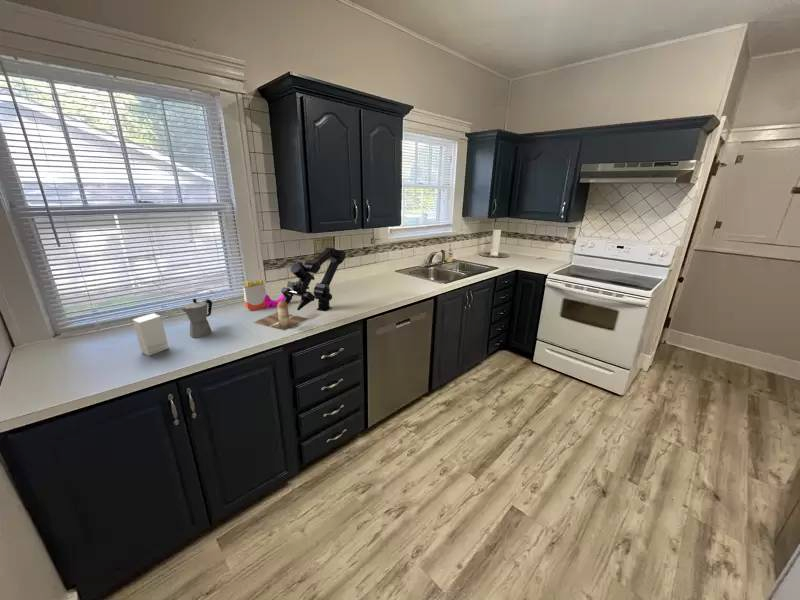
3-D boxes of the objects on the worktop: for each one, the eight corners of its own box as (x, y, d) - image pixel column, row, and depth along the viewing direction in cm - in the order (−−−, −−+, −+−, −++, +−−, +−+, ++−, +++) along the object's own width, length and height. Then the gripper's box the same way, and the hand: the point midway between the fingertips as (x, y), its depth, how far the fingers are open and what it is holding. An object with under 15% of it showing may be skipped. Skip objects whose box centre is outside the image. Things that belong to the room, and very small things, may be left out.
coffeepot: (196, 341, 149) (189, 304, 144) (181, 338, 152) (173, 302, 146) (223, 328, 163) (217, 294, 158) (208, 326, 166) (202, 292, 160)
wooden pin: (281, 324, 167) (278, 299, 163) (291, 324, 167) (288, 299, 163) (277, 328, 163) (275, 302, 158) (287, 328, 163) (285, 302, 158)
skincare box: (162, 345, 145) (154, 312, 140) (169, 348, 142) (162, 315, 137) (140, 352, 138) (131, 318, 133) (148, 356, 135) (139, 322, 130)
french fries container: (245, 310, 188) (240, 281, 182) (264, 306, 195) (260, 277, 189) (248, 313, 184) (243, 282, 178) (267, 308, 192) (263, 278, 186)
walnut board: (278, 313, 185) (278, 311, 184) (309, 320, 176) (309, 318, 175) (252, 324, 169) (252, 322, 169) (284, 332, 160) (284, 330, 160)
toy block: (267, 310, 189) (266, 298, 187) (263, 307, 194) (262, 295, 191) (292, 304, 199) (291, 292, 197) (287, 302, 204) (286, 290, 201)
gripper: (281, 272, 170) (267, 298, 164) (309, 277, 163) (296, 304, 157) (293, 283, 179) (280, 308, 174) (320, 287, 172) (308, 314, 166)
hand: (290, 308), depth 167 cm, fingers open, 9 cm apart
